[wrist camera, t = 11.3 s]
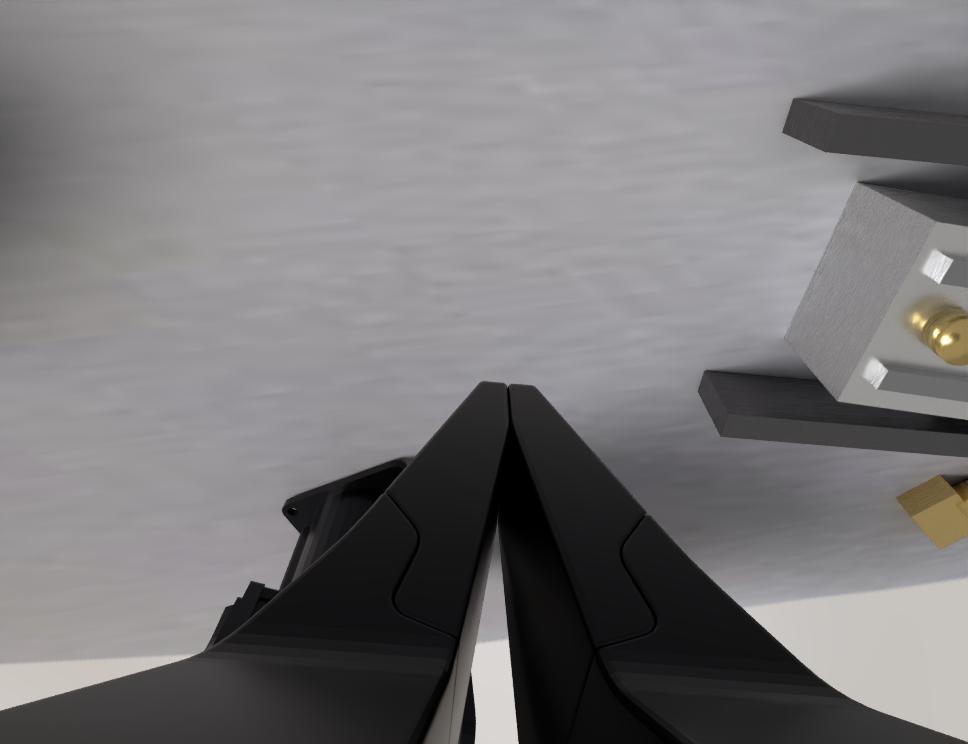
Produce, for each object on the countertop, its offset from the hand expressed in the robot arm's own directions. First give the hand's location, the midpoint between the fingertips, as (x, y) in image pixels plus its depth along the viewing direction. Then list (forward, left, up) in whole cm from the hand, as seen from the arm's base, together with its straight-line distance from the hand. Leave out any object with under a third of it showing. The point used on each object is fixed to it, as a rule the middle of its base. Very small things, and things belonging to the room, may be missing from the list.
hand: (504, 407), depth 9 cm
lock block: (+12, -9, -13) cm, 20 cm away
